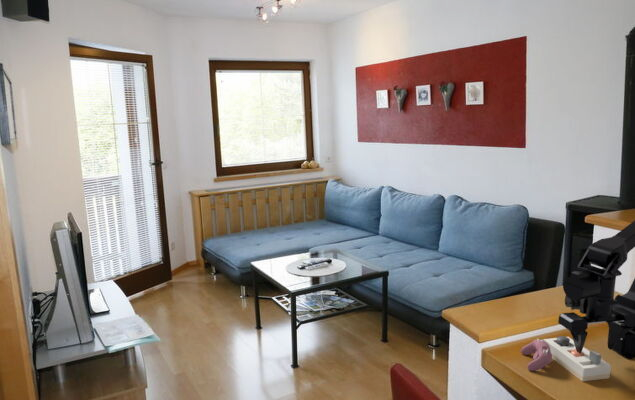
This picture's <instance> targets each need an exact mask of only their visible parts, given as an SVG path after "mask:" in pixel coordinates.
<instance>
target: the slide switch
mask: <svg viewBox="0 0 635 400" xmlns="http://www.w3.org/2000/svg"><path fill="white" fill-rule="evenodd" d="M589 351H590V355H589V359H590V360H591V361H592V363H591V365H593V364H600V362H601V359H602V354H601V353H599V352H597V351H596V350H589Z"/></svg>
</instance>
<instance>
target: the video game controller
mask: <svg viewBox="0 0 635 400" xmlns="http://www.w3.org/2000/svg"><path fill="white" fill-rule="evenodd" d="M520 353H521V354H522V355H525V356H529V355H533V356H532V359H533V360H532V361H530V362H529V363H528V364H527V366H526V367H527V370H528V371H531V372H536V371H539V370H542V369H543V368H545V366H548V365H549V364H550V363H551V362H552V361H553V359H552V354H551V350H550V346H549V345H548V343H547V342H545V341H544V340H543V339H540V338H537V339H533V340H532V341H531V342H530V343H528V344H526V345H524V346H522V348H521V349H520Z"/></svg>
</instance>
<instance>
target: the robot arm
mask: <svg viewBox="0 0 635 400" xmlns="http://www.w3.org/2000/svg"><path fill="white" fill-rule="evenodd" d="M634 248H635V220H633V221H632V222H631V223H629V224H628V225H627V226H625V227H624V228H622V229H621V230H620V231H619V232H617V233H616V234H615V235H613V236H611V237H606V238H601V239H599V240H596V241H595V242H593V243H591V245H589V247H588V248H587V250H586V251H585V252H584V255H583V256H582V257H581V260H579V262H578V265H577V266H576V269H577V270H578V271H577V270H576V271H575V270H574V271H572V272H571V274H570V276H569V277H567V278H565V279H564V281H563V283H562V288H563V289H562V290H563V292H564V294H565V297H564V305H565V307H566V308H570V310H572V311H574V310H579V313H580V314H584V316H581V315H579V314H578V313H575V312H562V313H561V314H559V315H558V321H557V324H559V325H560V326H562V327H563V328H565V329H567V330H568V331H569V332H570V334H571V337H572V340H573V341H574V344H575V347H576V351H577V352H578V353H581V352H582V349H583V347H585V343H586V339H587V336H588V334H589V333H588V331H587V330H588V325H592V324H593V325H595V324H603V323H607V326H608V333H607V334H608V336H607V349H609V350H611V351H614V352H616V353H617V354H619V355H621V356H622V357H624V358H625V359H627V360H632V359H635V277H634V279H633V281H632V283H631V285H630V287H629V289H628V291H627V292H626V293H624V294H623V295H621V294H617V295H616V296H615V290H616V281H617V280H616V278H617V277H620V276H622V275H623V274H622V272H621V270H619V269H620V268H621V267H622V266H623V265H624V264H625V263H626V262H627V261H628V253H630V252H631V251H632V250H633V249H634ZM596 266H597V267H596Z"/></svg>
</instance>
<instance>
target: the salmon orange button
mask: <svg viewBox="0 0 635 400" xmlns="http://www.w3.org/2000/svg"><path fill="white" fill-rule="evenodd" d="M571 354H572V355H574V356H575V357H582V356H584V353H583V352H581V353H578V352H577V351H576V350H571Z"/></svg>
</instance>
